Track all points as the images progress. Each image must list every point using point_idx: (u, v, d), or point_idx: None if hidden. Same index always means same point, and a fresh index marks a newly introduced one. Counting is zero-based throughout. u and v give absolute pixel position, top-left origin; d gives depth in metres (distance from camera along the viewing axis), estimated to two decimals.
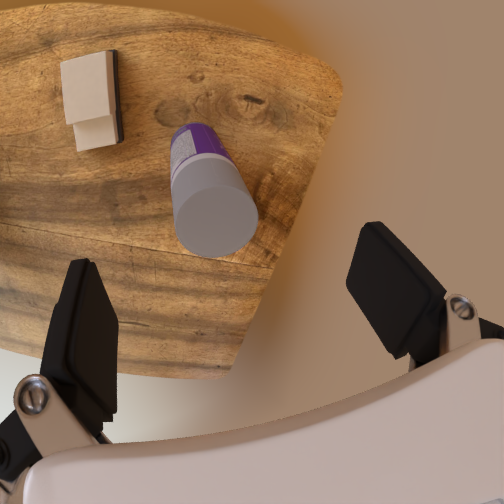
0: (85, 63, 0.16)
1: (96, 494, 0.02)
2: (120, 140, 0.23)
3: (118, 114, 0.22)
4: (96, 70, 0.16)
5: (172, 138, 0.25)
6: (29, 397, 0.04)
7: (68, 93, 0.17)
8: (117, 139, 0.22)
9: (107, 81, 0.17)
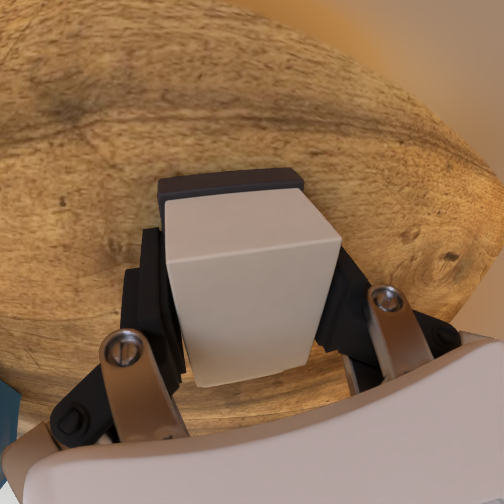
0: (272, 272, 0.07)
1: (96, 494, 0.02)
2: None
3: None
4: (302, 292, 0.07)
5: None
6: (117, 352, 0.06)
7: (205, 342, 0.08)
8: None
9: None
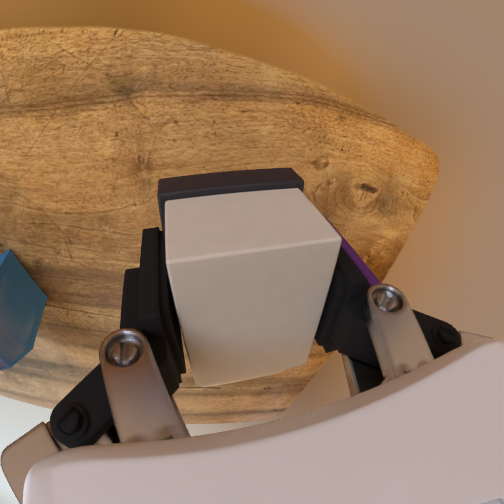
0: (272, 272, 0.07)
1: (96, 494, 0.02)
2: None
3: None
4: (302, 292, 0.07)
5: None
6: (117, 352, 0.06)
7: (205, 342, 0.08)
8: None
9: None
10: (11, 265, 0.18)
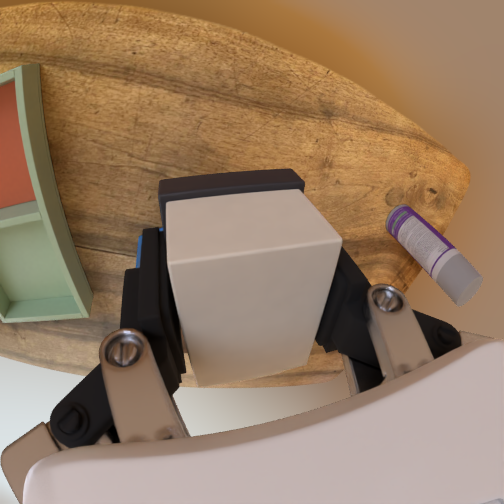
0: (273, 274, 0.07)
1: (96, 494, 0.02)
2: None
3: None
4: (303, 292, 0.07)
5: (392, 215, 0.35)
6: (117, 352, 0.06)
7: (206, 343, 0.08)
8: None
9: None
10: None
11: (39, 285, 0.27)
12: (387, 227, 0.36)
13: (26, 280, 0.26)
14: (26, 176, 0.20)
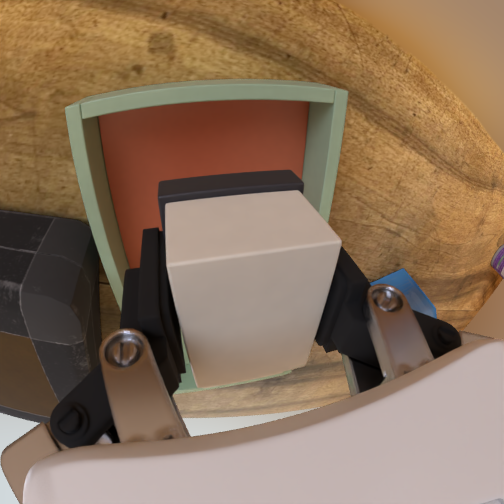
0: (272, 275, 0.07)
1: (96, 494, 0.02)
2: None
3: None
4: (302, 294, 0.07)
5: (498, 254, 0.34)
6: (117, 352, 0.06)
7: (205, 344, 0.08)
8: None
9: None
10: None
11: None
12: (492, 262, 0.36)
13: None
14: None
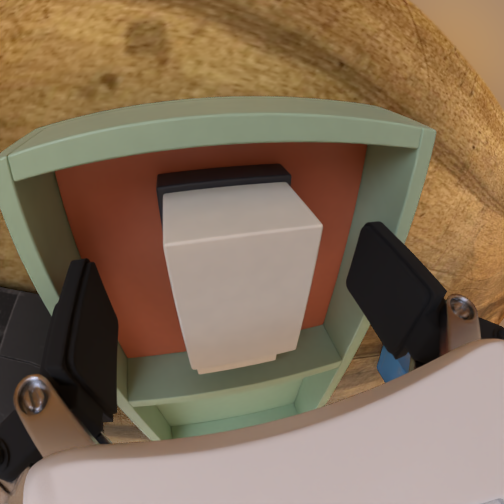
0: (259, 256, 0.07)
1: (96, 494, 0.02)
2: None
3: None
4: (288, 275, 0.08)
5: None
6: (29, 397, 0.04)
7: (199, 323, 0.08)
8: None
9: None
10: None
11: (235, 408, 0.23)
12: None
13: (216, 407, 0.22)
14: None
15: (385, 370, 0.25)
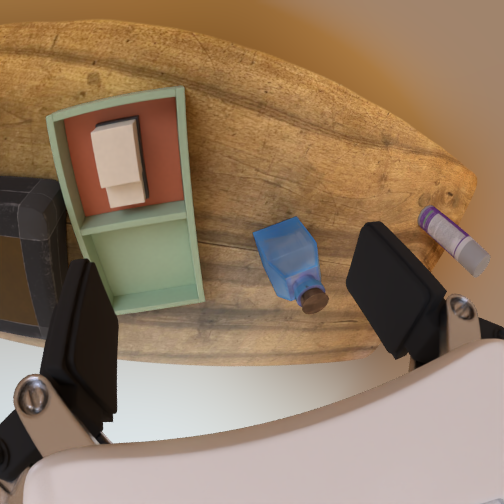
0: (115, 135, 0.22)
1: (96, 494, 0.02)
2: (147, 197, 0.29)
3: (144, 174, 0.28)
4: (125, 142, 0.23)
5: (422, 213, 0.44)
6: (29, 397, 0.04)
7: (101, 161, 0.23)
8: (145, 197, 0.28)
9: (136, 151, 0.24)
10: None
11: (152, 278, 0.37)
12: (419, 222, 0.46)
13: (139, 274, 0.36)
14: (164, 181, 0.30)
15: (263, 261, 0.39)
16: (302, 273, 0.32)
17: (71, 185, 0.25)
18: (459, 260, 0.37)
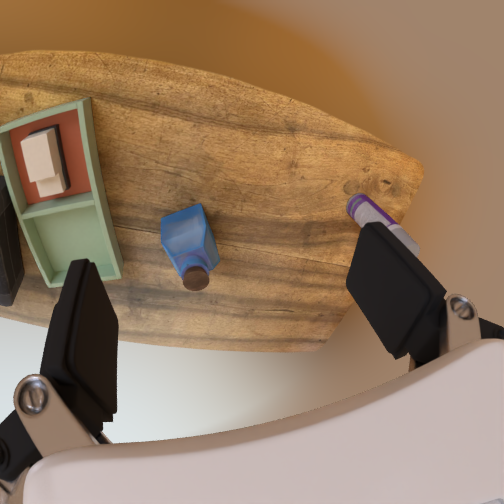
0: (35, 142, 0.25)
1: (96, 494, 0.02)
2: (67, 188, 0.32)
3: (64, 170, 0.30)
4: (42, 146, 0.25)
5: (350, 201, 0.47)
6: (29, 397, 0.04)
7: (28, 162, 0.26)
8: (64, 188, 0.31)
9: (50, 153, 0.26)
10: (203, 212, 0.41)
11: (82, 257, 0.40)
12: (347, 211, 0.48)
13: (71, 253, 0.39)
14: (80, 175, 0.33)
15: None
16: (188, 253, 0.35)
17: (14, 180, 0.28)
18: None
